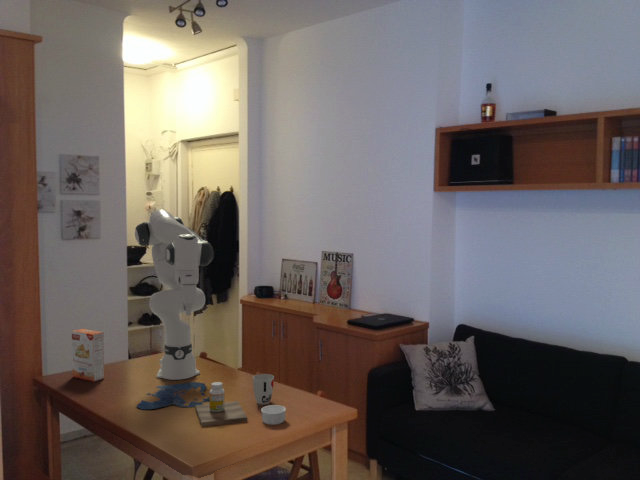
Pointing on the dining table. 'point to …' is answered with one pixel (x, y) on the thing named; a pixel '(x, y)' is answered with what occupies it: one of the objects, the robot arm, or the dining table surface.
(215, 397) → the supplement bottle
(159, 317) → the robot arm
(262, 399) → the cup
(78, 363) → the cracker box
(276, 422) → the ramekin
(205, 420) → the wooden board
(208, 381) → the dining table surface
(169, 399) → the blue cloth
